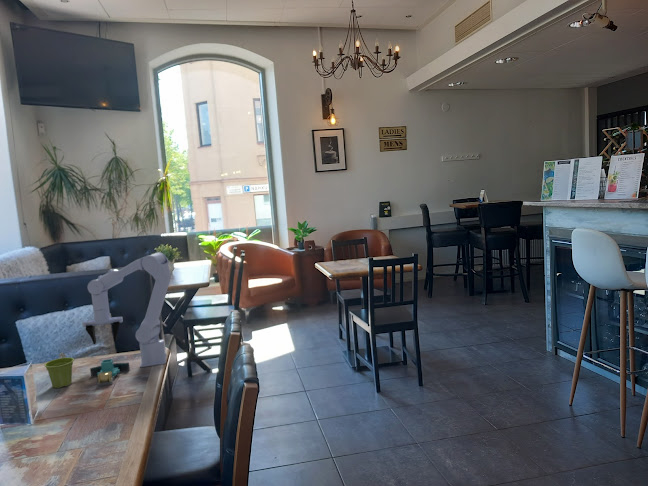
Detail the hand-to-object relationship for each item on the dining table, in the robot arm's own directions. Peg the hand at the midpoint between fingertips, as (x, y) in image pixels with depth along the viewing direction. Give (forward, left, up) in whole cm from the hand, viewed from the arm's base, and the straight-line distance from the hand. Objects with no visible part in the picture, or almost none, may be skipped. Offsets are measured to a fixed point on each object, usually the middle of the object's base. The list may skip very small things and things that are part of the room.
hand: (105, 342), depth 195 cm
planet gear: (-2, +15, -8) cm, 17 cm away
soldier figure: (+19, -7, -10) cm, 23 cm away
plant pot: (+13, +16, -10) cm, 23 cm away
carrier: (-3, +16, -9) cm, 19 cm away
